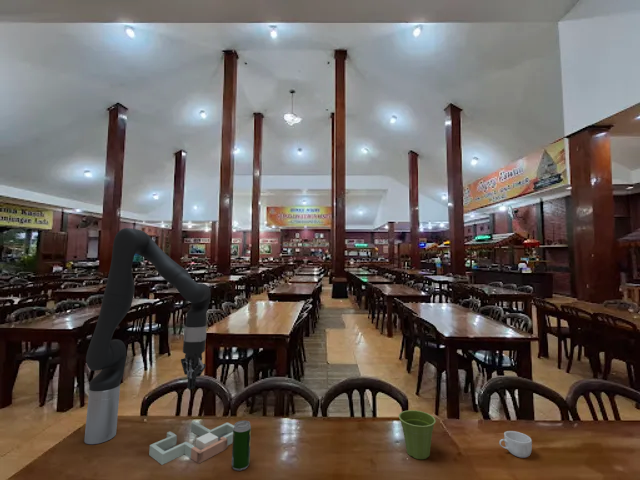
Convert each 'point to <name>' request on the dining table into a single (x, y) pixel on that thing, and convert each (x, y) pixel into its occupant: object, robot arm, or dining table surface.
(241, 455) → the beer can
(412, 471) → the dining table surface
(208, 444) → the cream block
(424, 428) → the plant pot
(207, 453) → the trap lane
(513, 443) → the teacup
